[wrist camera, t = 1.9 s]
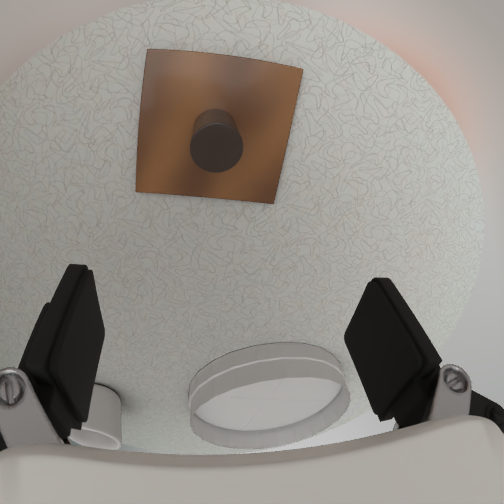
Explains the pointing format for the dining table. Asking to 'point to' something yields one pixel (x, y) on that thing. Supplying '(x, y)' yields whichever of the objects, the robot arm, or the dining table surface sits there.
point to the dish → (267, 396)
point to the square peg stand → (214, 125)
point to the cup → (101, 421)
